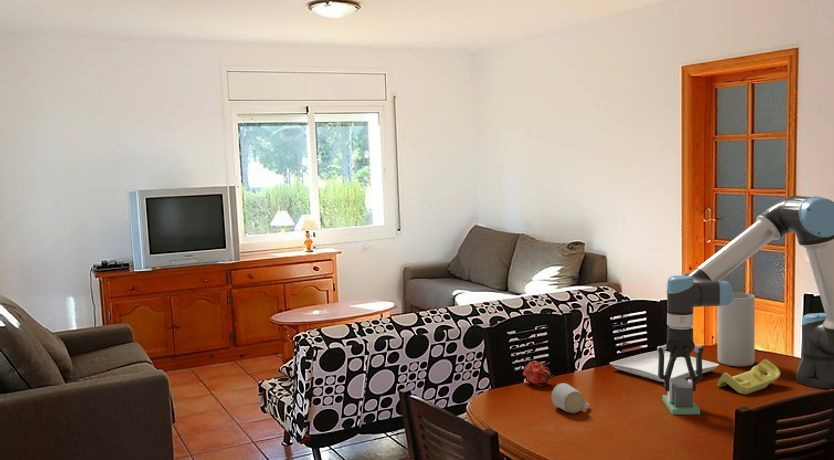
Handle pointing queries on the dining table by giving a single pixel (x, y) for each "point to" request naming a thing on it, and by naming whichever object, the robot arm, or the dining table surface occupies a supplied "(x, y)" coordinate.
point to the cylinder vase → (736, 331)
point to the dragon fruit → (537, 373)
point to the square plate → (649, 365)
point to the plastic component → (751, 378)
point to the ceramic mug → (568, 398)
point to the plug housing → (681, 393)
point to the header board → (681, 410)
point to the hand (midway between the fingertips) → (680, 401)
